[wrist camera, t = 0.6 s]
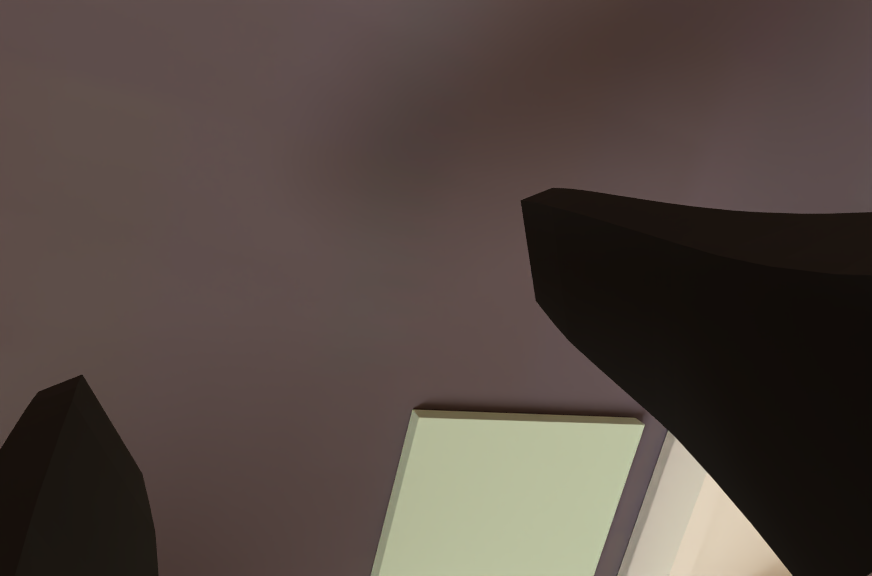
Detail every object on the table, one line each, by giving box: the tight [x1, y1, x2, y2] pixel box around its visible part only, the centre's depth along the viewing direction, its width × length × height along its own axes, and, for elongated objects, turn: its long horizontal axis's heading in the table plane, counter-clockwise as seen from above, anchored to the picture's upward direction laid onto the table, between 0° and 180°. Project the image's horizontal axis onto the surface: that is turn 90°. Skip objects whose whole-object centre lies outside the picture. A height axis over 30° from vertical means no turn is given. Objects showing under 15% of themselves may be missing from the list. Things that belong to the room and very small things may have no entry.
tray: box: [617, 431, 792, 576], centre depth 34 cm, size 21×14×2 cm, turn 165°
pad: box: [371, 410, 645, 576], centre depth 28 cm, size 12×10×1 cm
